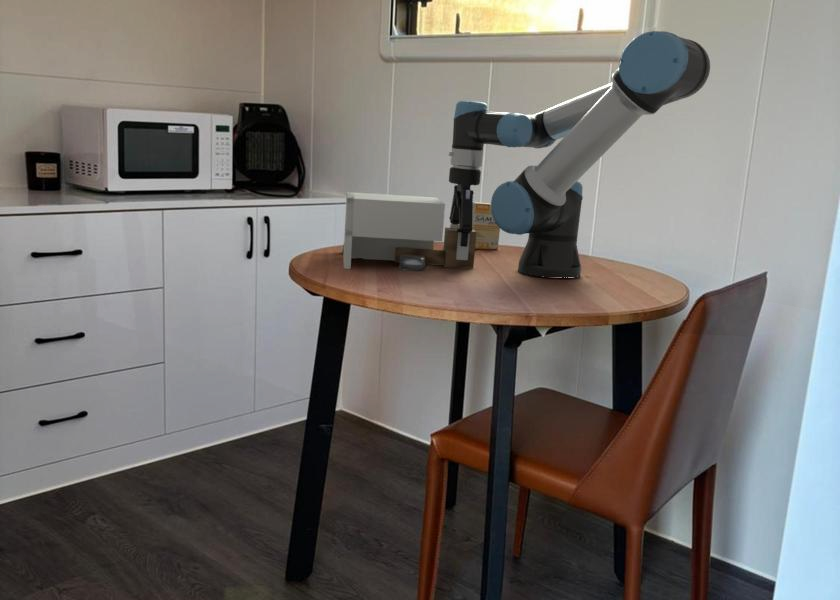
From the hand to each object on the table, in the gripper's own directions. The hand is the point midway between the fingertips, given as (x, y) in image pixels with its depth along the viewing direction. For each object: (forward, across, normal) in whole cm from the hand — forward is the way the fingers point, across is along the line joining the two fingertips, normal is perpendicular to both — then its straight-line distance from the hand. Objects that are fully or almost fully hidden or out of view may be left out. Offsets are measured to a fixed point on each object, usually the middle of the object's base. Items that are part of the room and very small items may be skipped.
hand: (457, 254), depth 195 cm
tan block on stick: (+3, 0, -6) cm, 6 cm away
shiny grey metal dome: (+3, +7, -12) cm, 14 cm away
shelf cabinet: (+3, +4, -17) cm, 17 cm away
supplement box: (+3, -32, +12) cm, 34 cm away
